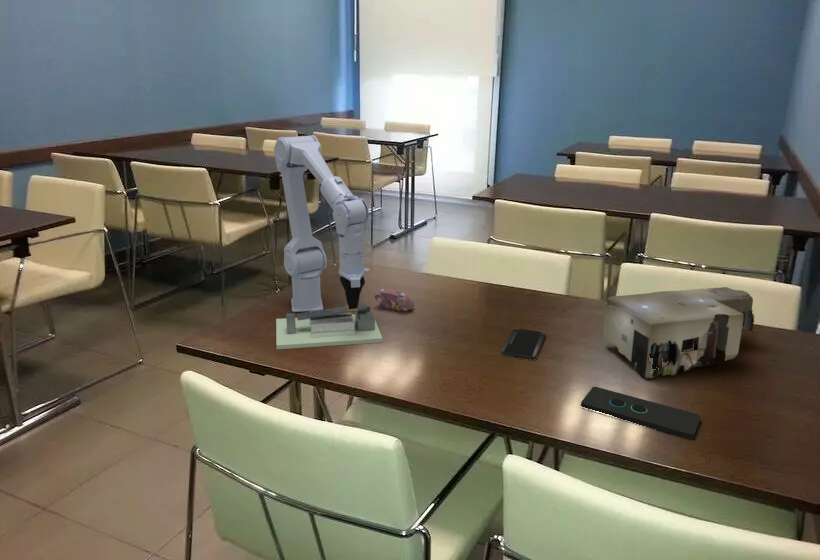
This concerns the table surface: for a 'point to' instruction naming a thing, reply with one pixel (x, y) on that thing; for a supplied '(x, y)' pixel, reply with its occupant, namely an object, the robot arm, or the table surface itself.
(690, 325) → the grey boxy piece
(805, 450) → the table surface
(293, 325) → the hinge and catch
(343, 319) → the heat sink
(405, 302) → the pink plastic car shape
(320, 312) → the bar
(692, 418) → the smart home device
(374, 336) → the pale green board
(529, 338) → the phone
